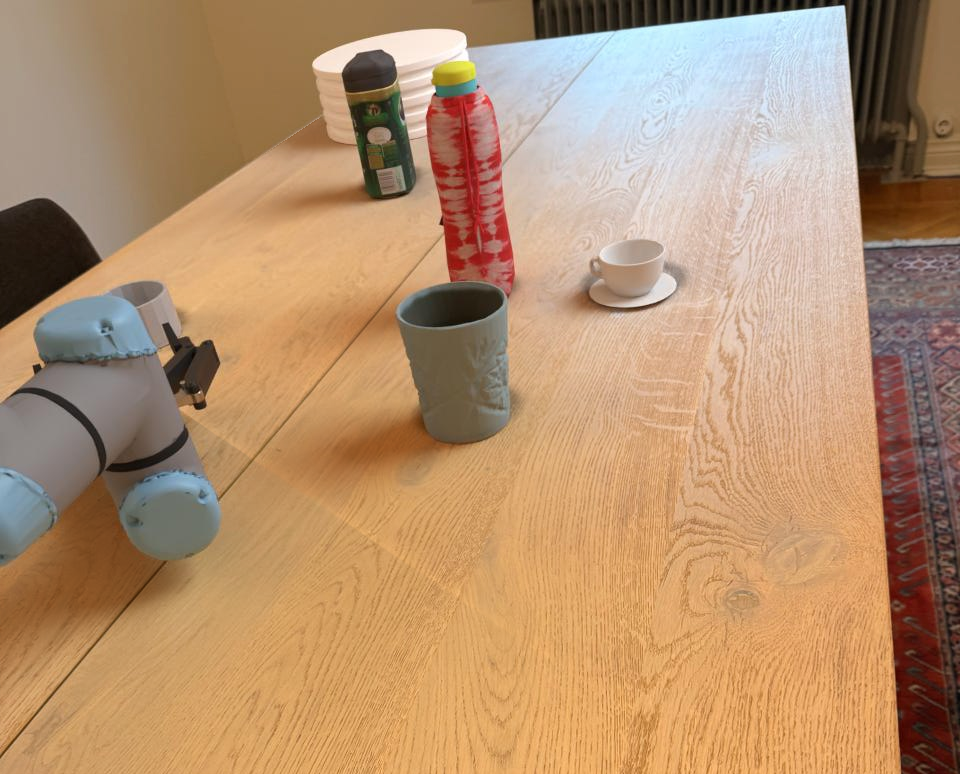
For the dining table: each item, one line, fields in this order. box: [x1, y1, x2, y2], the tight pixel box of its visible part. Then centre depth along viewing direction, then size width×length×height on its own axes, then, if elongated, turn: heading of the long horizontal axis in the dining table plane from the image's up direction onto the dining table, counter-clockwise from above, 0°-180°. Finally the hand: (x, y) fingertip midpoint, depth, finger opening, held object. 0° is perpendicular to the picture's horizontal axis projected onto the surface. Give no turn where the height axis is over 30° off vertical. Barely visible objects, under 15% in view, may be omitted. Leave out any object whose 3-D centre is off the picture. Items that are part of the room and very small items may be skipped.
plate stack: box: [311, 28, 470, 146], centre depth 172 cm, size 28×28×12 cm
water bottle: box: [426, 60, 516, 300], centre depth 105 cm, size 12×8×25 cm, turn 5°
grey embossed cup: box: [395, 281, 511, 445], centre depth 89 cm, size 10×10×12 cm
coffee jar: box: [342, 49, 417, 199], centre depth 141 cm, size 10×8×19 cm
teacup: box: [588, 238, 678, 308], centre depth 107 cm, size 10×10×5 cm
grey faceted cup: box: [98, 279, 183, 350], centre depth 117 cm, size 9×9×6 cm
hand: (106, 355), depth 98 cm, fingers open, 13 cm apart
